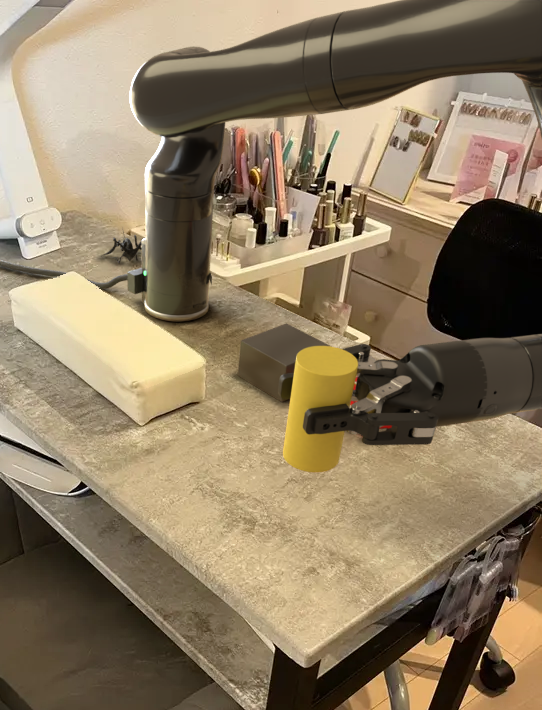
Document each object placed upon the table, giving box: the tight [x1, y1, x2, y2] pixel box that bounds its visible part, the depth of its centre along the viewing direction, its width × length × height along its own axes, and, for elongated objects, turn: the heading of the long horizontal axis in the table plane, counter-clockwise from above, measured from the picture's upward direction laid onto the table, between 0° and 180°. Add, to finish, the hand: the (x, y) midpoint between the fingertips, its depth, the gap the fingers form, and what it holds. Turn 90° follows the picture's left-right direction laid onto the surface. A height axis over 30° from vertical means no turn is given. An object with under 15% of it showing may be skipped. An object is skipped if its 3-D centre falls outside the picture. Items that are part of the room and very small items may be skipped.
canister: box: [282, 345, 358, 474], centre depth 68 cm, size 5×5×10 cm
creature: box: [100, 227, 145, 264], centre depth 126 cm, size 8×5×8 cm
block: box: [237, 322, 333, 403], centre depth 96 cm, size 8×8×5 cm
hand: (293, 404), depth 67 cm, fingers closed on canister, 5 cm apart
